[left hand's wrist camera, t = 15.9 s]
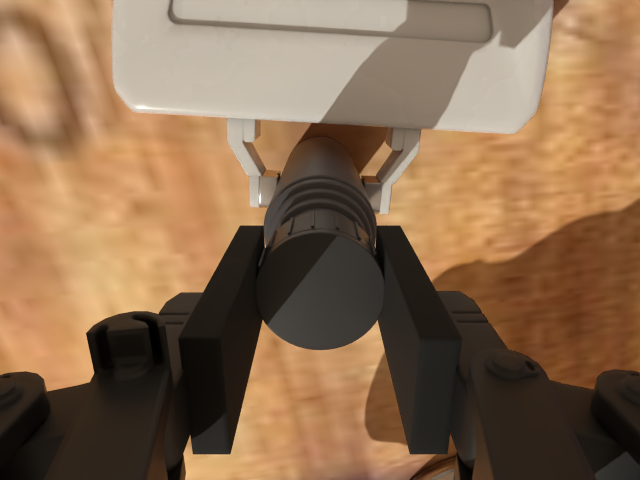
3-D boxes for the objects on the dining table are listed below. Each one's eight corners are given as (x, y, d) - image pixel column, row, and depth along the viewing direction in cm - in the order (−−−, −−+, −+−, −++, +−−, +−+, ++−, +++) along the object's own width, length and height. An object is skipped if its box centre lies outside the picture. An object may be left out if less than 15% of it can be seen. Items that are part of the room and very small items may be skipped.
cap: (276, 196, 13) (269, 215, 12) (394, 226, 14) (406, 249, 12) (250, 302, 15) (240, 335, 13) (359, 327, 15) (365, 363, 13)
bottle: (295, 128, 28) (260, 194, 12) (362, 146, 29) (420, 236, 12) (279, 194, 30) (228, 336, 13) (343, 210, 30) (371, 368, 14)
